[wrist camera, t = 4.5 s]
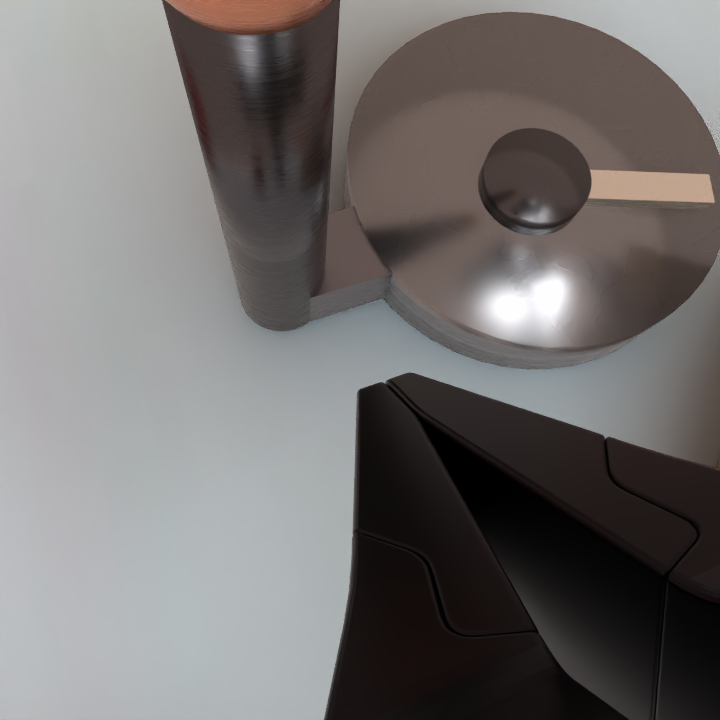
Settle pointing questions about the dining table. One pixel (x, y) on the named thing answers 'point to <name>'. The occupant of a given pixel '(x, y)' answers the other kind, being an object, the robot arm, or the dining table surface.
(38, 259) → the dining table surface
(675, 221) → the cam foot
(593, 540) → the robot arm
